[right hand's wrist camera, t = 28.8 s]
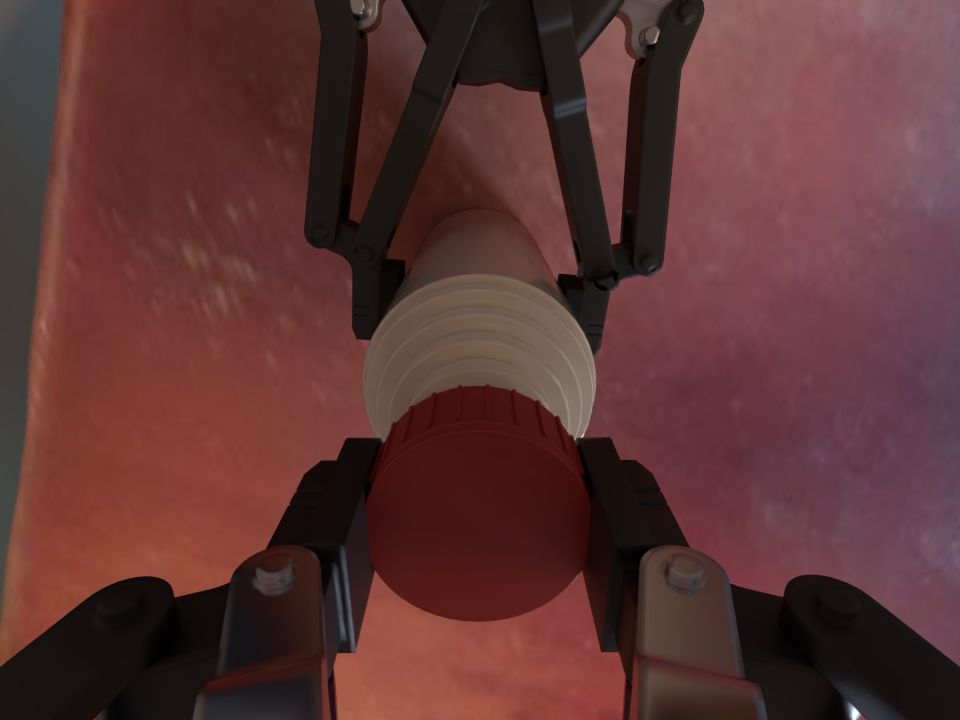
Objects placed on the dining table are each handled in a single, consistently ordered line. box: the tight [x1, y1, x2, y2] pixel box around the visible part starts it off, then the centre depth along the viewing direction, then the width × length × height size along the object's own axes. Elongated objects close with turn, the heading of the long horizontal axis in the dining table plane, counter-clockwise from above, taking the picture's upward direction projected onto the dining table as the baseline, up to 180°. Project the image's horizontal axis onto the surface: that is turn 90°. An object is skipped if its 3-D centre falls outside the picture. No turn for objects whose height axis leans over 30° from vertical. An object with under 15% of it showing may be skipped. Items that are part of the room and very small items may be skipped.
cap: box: [366, 384, 591, 622], centre depth 11 cm, size 4×4×2 cm
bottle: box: [362, 209, 596, 442], centre depth 21 cm, size 7×7×21 cm
